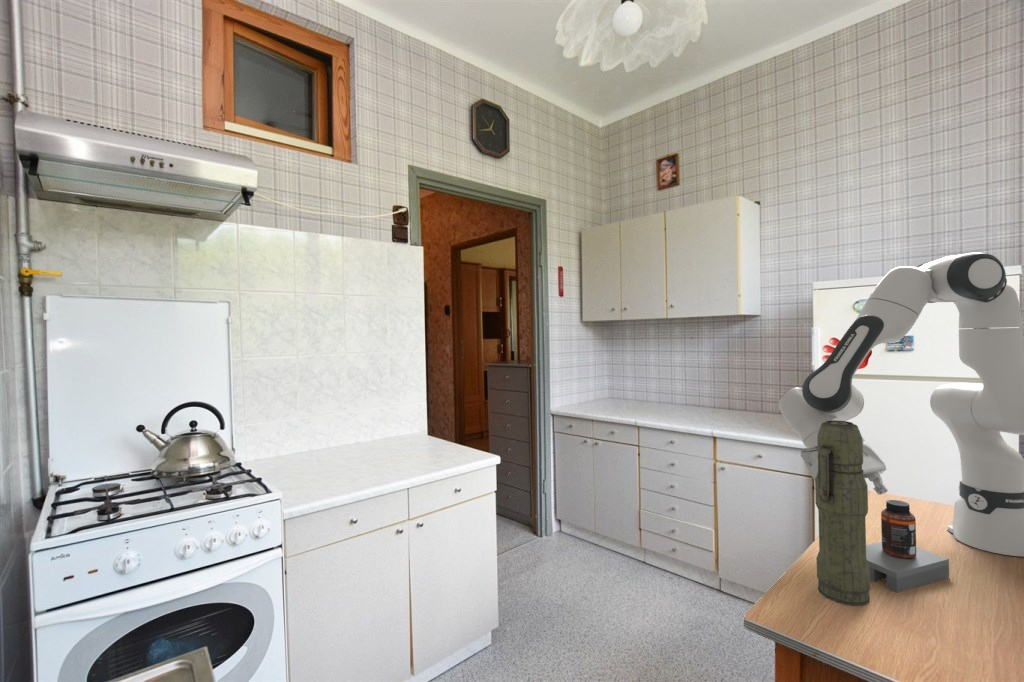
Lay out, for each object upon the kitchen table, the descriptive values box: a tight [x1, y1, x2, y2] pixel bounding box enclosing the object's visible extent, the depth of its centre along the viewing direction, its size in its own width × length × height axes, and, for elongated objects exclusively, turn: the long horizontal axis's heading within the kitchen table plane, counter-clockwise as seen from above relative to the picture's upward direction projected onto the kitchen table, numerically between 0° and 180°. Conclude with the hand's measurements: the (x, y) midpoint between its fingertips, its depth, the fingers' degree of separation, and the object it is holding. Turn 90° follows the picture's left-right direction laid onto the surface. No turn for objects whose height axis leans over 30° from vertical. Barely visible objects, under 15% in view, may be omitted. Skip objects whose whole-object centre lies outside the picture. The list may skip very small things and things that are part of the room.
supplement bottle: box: [880, 499, 917, 559], centre depth 105 cm, size 6×6×11 cm
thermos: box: [814, 420, 871, 607], centre depth 97 cm, size 9×12×35 cm
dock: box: [866, 541, 950, 593], centre depth 105 cm, size 16×11×4 cm
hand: (869, 495), depth 111 cm, fingers open, 8 cm apart
